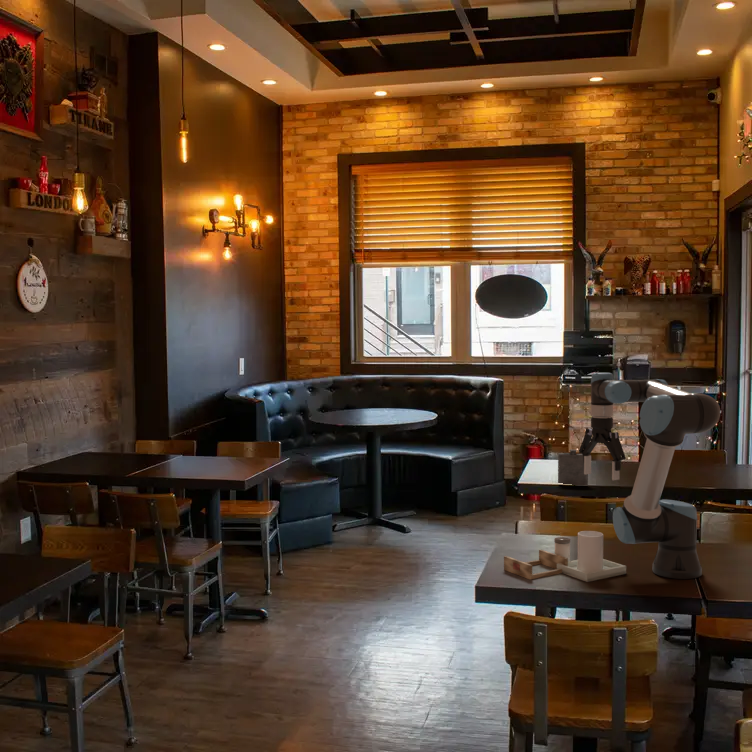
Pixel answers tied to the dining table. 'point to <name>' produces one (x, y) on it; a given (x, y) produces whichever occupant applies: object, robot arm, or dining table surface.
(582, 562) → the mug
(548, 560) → the oak caddy
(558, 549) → the salt jar
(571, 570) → the tray
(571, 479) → the flask
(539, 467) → the dining table surface
